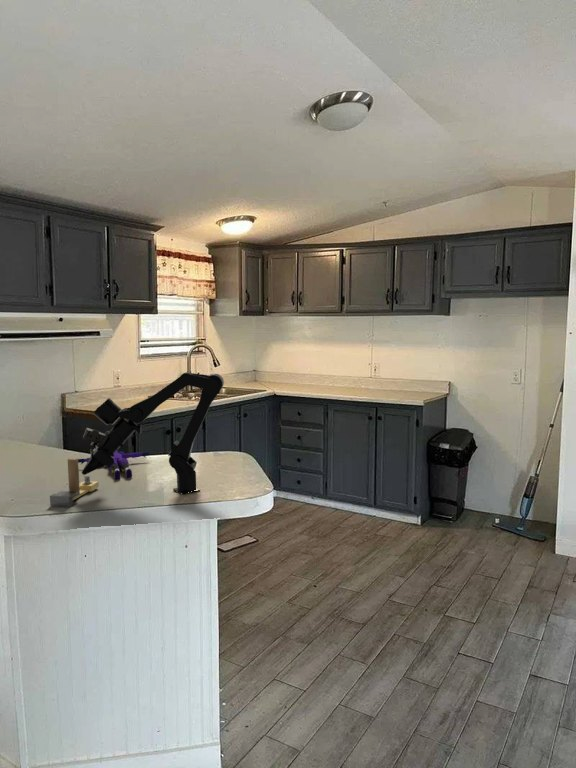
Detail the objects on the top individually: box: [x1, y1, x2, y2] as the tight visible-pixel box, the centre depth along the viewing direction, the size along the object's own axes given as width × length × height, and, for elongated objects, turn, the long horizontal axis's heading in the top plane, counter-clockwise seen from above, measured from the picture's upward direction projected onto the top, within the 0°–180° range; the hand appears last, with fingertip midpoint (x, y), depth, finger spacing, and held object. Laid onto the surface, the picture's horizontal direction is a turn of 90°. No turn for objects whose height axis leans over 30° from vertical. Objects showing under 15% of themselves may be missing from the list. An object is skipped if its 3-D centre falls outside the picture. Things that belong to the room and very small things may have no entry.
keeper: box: [49, 490, 80, 508], centre depth 166 cm, size 6×6×3 cm
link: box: [67, 457, 100, 501], centre depth 174 cm, size 16×5×12 cm, turn 172°
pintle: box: [83, 475, 95, 493], centre depth 179 cm, size 4×4×5 cm
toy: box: [78, 450, 150, 481], centre depth 206 cm, size 27×6×30 cm
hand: (82, 473), depth 172 cm, fingers closed
